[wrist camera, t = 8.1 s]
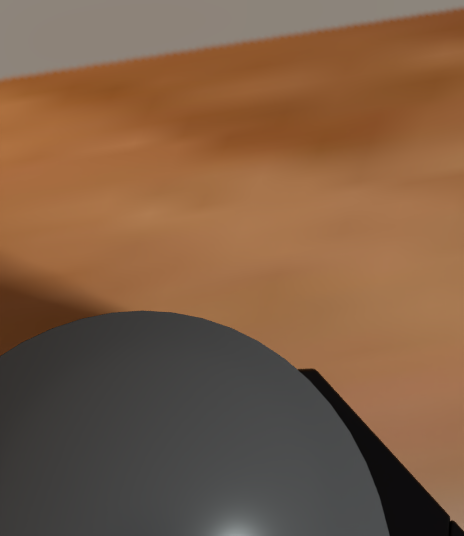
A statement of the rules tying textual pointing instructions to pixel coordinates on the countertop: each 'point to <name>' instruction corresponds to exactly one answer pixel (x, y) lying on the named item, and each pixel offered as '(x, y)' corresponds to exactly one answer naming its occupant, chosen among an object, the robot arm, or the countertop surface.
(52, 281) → the countertop surface
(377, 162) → the countertop surface
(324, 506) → the post
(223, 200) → the countertop surface
